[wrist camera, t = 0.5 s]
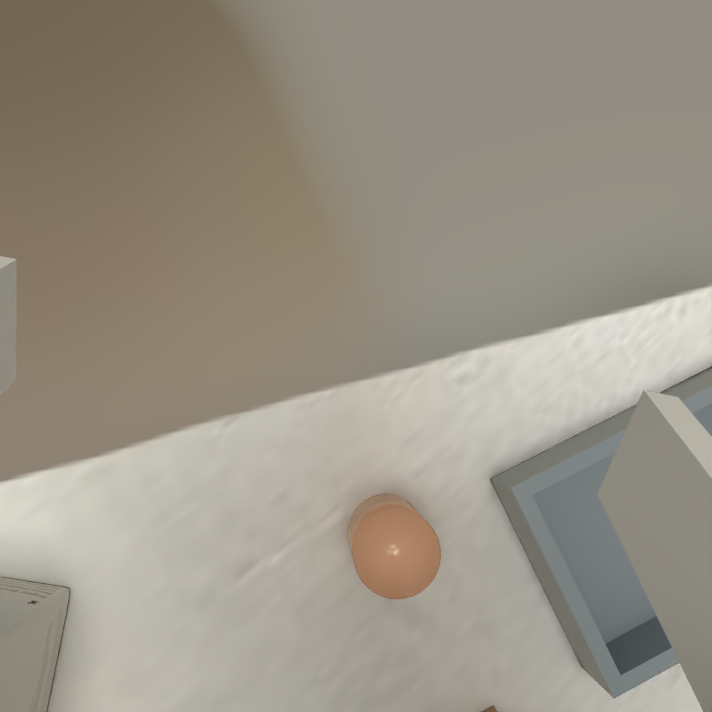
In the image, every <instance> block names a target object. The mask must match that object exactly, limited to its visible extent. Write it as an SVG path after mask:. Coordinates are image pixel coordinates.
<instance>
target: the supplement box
mask: <svg viewBox="0 0 712 712" xmlns="http://www.w3.org/2000/svg"><path fill="white" fill-rule="evenodd" d="M69 592H70V590H69V589H68V588H64V587H58V586H52V585H46V584H40V583H34V582H28V581H22V580H15V579H9V578H3V577H0V712H46V711H47V706H48V701H49V696H50V691H51V686H52V681H53V676H54V671H55V666H56V661H57V656H58V651H59V646H60V641H61V636H62V631H63V626H64V621H65V616H66V611H67V605H68V599H69Z"/></svg>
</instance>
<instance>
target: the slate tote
mask: <svg viewBox="0 0 712 712" xmlns="http://www.w3.org/2000/svg"><path fill="white" fill-rule="evenodd" d="M661 394H665V395H670V396H675V397H678V398H679V399H680V400H681V401H682V402H683V404H684V405H685V406H686V407H687V408H688V409H689V411H690V412H691V413H692V414H693V415H694V416H695V418H696V419H697V420H698V421H699V422H700V424H701V425H702V426H703V427H704V428H705V429H706V431H707V432H708V433H709V434H710V435H711V436H712V367H710V368H708V369H706V370H704V371H702V372H700V373H698V374H696V375H694V376H692V377H690V378H688V379H686V380H684V381H682V382H680V383H678V384H676V385H674V386H672V387H670V388H668V389H666V390H664V391H662V392H661ZM636 406H637V405H635V406H633V407H631V408H629V409H627V410H625V411H623V412H621V413H619V414H617V415H615V416H613V417H611V418H609V419H607V420H605V421H603V422H601V423H599V424H597V425H595V426H593V427H591V428H589V429H587V430H585V431H583V432H582V433H580V434H578V435H576V436H574V437H572V438H570V439H568V440H566V441H564V442H562V443H560V444H558V445H556V446H554V447H552V448H550V449H548V450H546V451H544V452H542V453H540V454H538V455H536V456H534V457H532V458H530V459H528V460H526V461H524V462H522V463H520V464H518V465H516V466H514V467H512V468H510V469H508V470H506V471H504V472H503V473H501V474H499V475H497V476H495V477H493V478H491V479H490V480H491V482H492V484H493V487H494V489H495V491H496V493H497V495H498V497H499V499H500V501H501V503H502V505H503V507H504V509H505V511H506V513H507V515H508V517H509V519H510V521H511V523H512V525H513V527H514V529H515V532H516V534H517V536H518V538H519V540H520V542H521V544H522V546H523V548H524V550H525V552H526V554H527V556H528V558H529V560H530V562H531V564H532V566H533V568H534V570H535V572H536V575H537V577H538V579H539V581H540V583H541V585H542V587H543V589H544V591H545V593H546V595H547V597H548V599H549V601H550V603H551V605H552V607H553V609H554V611H555V613H556V615H557V618H558V620H559V622H560V624H561V626H562V628H563V630H564V632H565V634H566V636H567V638H568V640H569V642H570V644H571V646H572V648H573V650H574V652H575V654H576V656H577V658H578V660H579V663H580V665H581V667H582V668H583V669H584V670H585V671H586V672H587V673H588V674H589V675H590V676H591V677H592V678H594V679H595V680H596V681H597V682H598V683H599V684H600V685H601V686H602V687H603V688H604V689H605V690H606V691H607V692H608V693H609V694H610V695H611V696H612V697H613V698H616V697H618V696H619V695H621V694H623V693H625V692H627V691H629V690H630V689H632V688H634V687H636V686H638V685H640V684H641V683H643V682H645V681H647V680H649V679H651V678H652V677H654V676H656V675H658V674H660V673H661V672H663V671H665V670H667V669H669V668H671V667H672V666H674V665H676V664H678V663H679V661H678V659H677V656H676V654H675V652H674V650H673V648H672V646H671V644H670V642H669V640H668V638H667V636H666V634H665V632H664V630H663V628H662V626H661V624H660V622H659V620H658V618H657V616H656V614H655V612H654V610H653V607H652V605H651V603H650V601H649V599H648V597H647V595H646V593H645V591H644V589H643V587H642V585H641V583H640V581H639V579H638V577H637V575H636V573H635V571H634V569H633V567H632V565H631V563H630V560H629V558H628V556H627V554H626V552H625V550H624V548H623V546H622V544H621V542H620V540H619V538H618V536H617V534H616V532H615V530H614V528H613V526H612V524H611V522H610V520H609V518H608V516H607V513H606V511H605V509H604V507H603V505H602V503H601V501H600V499H599V497H598V495H597V494H598V492H599V489H600V487H601V485H602V483H603V480H604V478H605V476H606V474H607V471H608V469H609V467H610V465H611V462H612V460H613V458H614V456H615V453H616V451H617V449H618V447H619V444H620V442H621V440H622V438H623V435H624V433H625V431H626V429H627V427H628V424H629V422H630V420H631V418H632V415H633V413H634V411H635V409H636Z"/></svg>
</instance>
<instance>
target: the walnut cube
mask: <svg viewBox="0 0 712 712" xmlns="http://www.w3.org/2000/svg"><path fill="white" fill-rule="evenodd" d="M482 712H497V711H496V709H495V707H494V706H491V707H489V708H488V709H486V710H484V711H482Z"/></svg>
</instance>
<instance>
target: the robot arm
mask: <svg viewBox="0 0 712 712" xmlns="http://www.w3.org/2000/svg"><path fill="white" fill-rule="evenodd" d="M15 380H16V259H12V258H7V257H2V256H0V395H1V394H2V393H3V392H4V391H5V390H6V389H7V388H8V387H9V386H10V385H11V384H12V383H13V382H15ZM597 495H598V497H599V499H600V501H601V503H602V505H603V507H604V509H605V511H606V513H607V516H608V518H609V520H610V522H611V524H612V526H613V528H614V530H615V532H616V534H617V536H618V538H619V540H620V542H621V544H622V546H623V548H624V550H625V552H626V554H627V556H628V558H629V560H630V563H631V565H632V567H633V569H634V571H635V573H636V575H637V577H638V579H639V581H640V583H641V585H642V587H643V589H644V591H645V593H646V595H647V597H648V599H649V601H650V603H651V605H652V607H653V610H654V612H655V614H656V616H657V618H658V620H659V622H660V624H661V626H662V628H663V630H664V632H665V634H666V636H667V638H668V640H669V642H670V644H671V646H672V648H673V650H674V652H675V654H676V656H677V659H678V661H679V663H680V665H681V667H682V669H683V671H684V673H685V675H686V677H687V679H688V681H689V683H690V685H691V687H692V689H693V691H694V693H695V695H696V697H697V699H698V701H699V703H700V706H701V708H702V710H703V712H712V436H711V435H710V434H709V433H708V432H707V431H706V429H705V428H704V427H703V426H702V425H701V424H700V422H699V421H698V420H697V419H696V418H695V416H694V415H693V414H692V413H691V412H690V411H689V409H688V408H687V407H686V406H685V405H684V404H683V402H682V401H681V400H680V399H679V398H678V397H675V396H670V395H665V394H661V393H656V392H651V391H646V390H644V391H643V393H642V395H641V397H640V400H639V402H638V404H637V406H636V409H635V411H634V413H633V415H632V418H631V420H630V422H629V424H628V427H627V429H626V431H625V433H624V435H623V438H622V440H621V442H620V444H619V447H618V449H617V451H616V453H615V456H614V458H613V460H612V462H611V465H610V467H609V469H608V471H607V474H606V476H605V478H604V480H603V483H602V485H601V487H600V489H599V492H598V494H597Z"/></svg>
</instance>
